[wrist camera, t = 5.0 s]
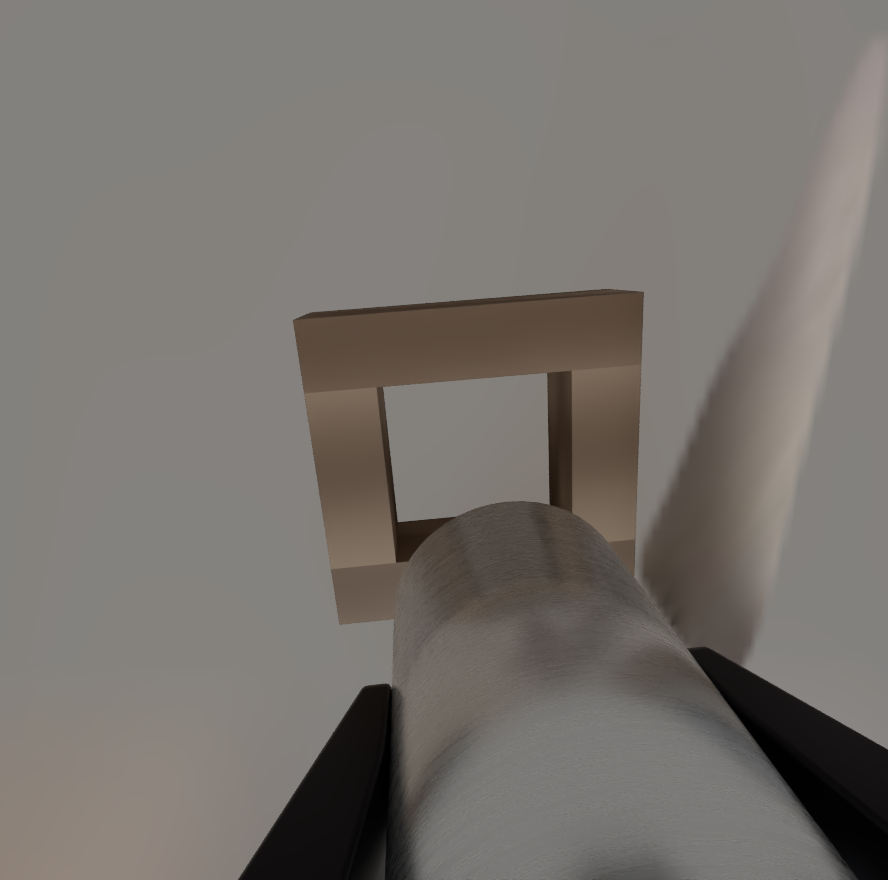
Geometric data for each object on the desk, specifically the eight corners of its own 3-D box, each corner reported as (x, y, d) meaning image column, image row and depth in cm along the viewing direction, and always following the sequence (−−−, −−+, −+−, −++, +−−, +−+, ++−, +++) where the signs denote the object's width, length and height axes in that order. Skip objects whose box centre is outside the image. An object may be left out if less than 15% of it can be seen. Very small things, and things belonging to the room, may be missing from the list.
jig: (603, 551, 21) (633, 594, 19) (348, 576, 21) (339, 624, 18) (607, 289, 19) (643, 291, 16) (310, 312, 18) (292, 319, 15)
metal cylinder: (623, 689, 11) (953, 1326, 4) (407, 715, 11) (409, 1417, 4) (627, 489, 10) (1107, 964, 3) (381, 514, 10) (323, 1076, 3)
